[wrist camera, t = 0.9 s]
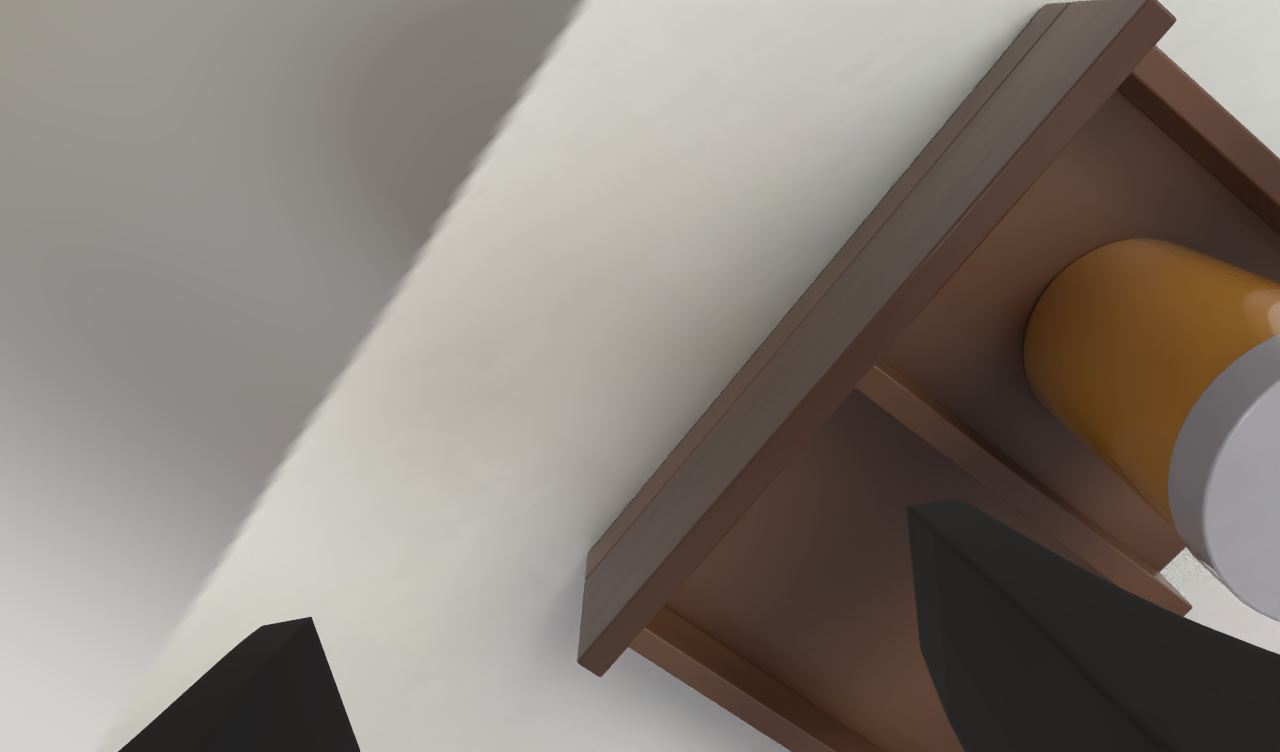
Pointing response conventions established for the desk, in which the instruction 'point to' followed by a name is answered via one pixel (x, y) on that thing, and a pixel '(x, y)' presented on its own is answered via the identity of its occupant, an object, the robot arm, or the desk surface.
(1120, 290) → the disc
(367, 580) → the desk surface
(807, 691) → the tray
